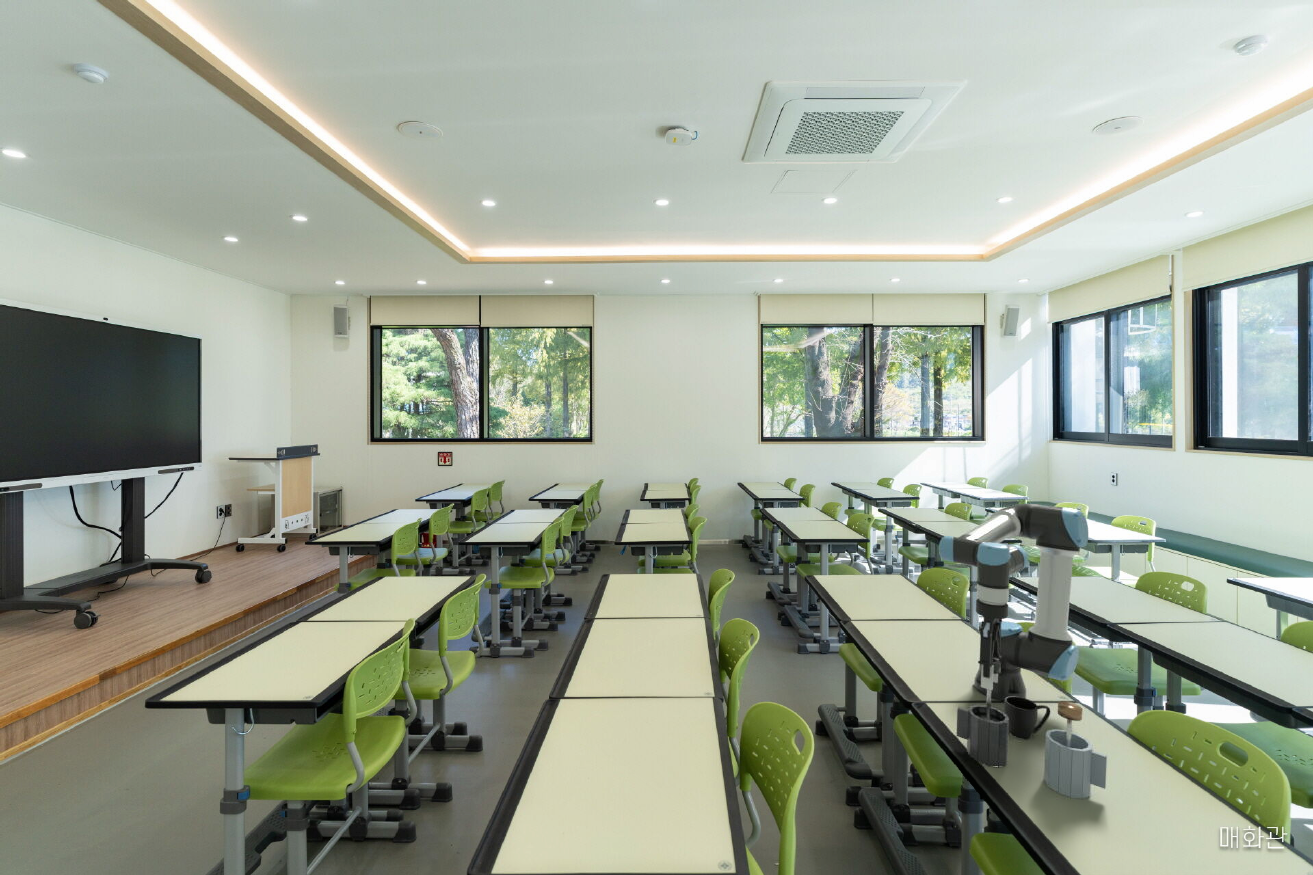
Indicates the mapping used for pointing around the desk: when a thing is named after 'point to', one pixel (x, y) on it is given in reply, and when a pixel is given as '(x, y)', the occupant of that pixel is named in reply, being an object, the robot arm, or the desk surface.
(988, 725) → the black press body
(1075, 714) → the stone press plunger
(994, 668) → the black press plunger
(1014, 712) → the mug
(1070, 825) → the desk surface
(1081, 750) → the cup
